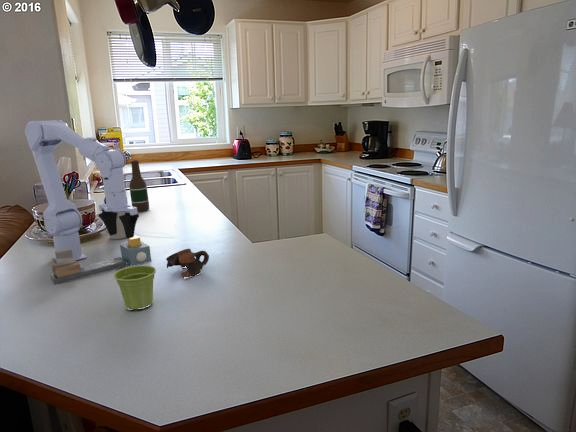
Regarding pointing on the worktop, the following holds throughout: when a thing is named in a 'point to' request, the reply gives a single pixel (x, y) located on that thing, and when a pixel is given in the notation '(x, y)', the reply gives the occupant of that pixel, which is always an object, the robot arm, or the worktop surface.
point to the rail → (91, 270)
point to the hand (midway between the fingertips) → (121, 236)
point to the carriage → (65, 263)
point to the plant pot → (136, 285)
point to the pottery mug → (188, 261)
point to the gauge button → (134, 241)
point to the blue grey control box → (135, 253)
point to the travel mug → (118, 226)
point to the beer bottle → (138, 189)
